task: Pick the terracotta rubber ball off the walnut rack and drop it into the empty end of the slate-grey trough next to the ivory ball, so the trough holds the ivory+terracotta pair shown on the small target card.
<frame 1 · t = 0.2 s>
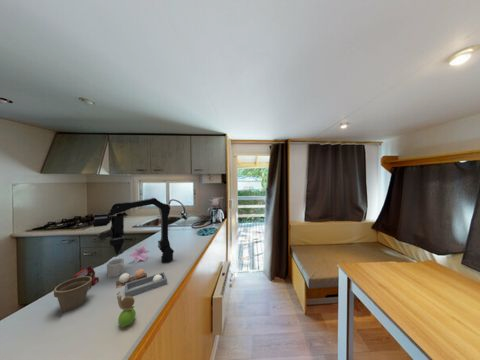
hand: (117, 251, 92), 14 cm above the counter, fingers open, 9 cm apart
trough: (146, 288, 81), on the counter
target card: (155, 274, 94), on the counter
toy fire truck: (85, 289, 81), on the counter
cup: (117, 276, 93), on the counter
flower pot: (73, 307, 69), on the counter
lily: (139, 260, 111), on the counter
ball ivory trough: (157, 283, 84), point 1 cm above the counter, touching trough
ball terracotta: (139, 277, 89), point 1 cm above the counter, touching rack
ball ivory rack: (124, 282, 85), point 1 cm above the counter, touching rack
rack: (132, 281, 87), on the counter
snail figurine: (125, 324, 61), on the counter
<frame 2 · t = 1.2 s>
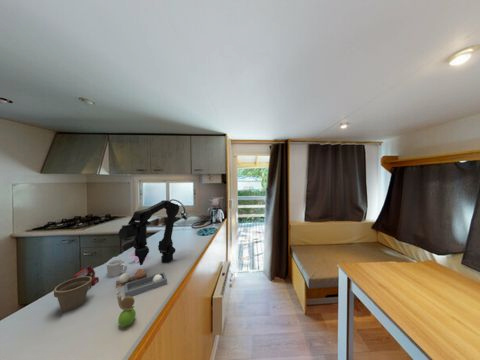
hand: (140, 261, 89), 10 cm above the counter, fingers open, 9 cm apart
nothing on the counter moved.
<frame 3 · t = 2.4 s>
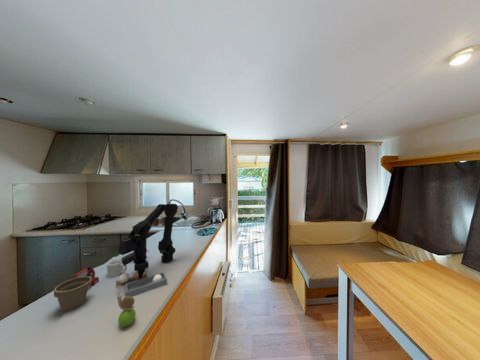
hand: (139, 275, 89), 2 cm above the counter, fingers closed on ball terracotta, 4 cm apart
ball terracotta: (139, 277, 89), point 1 cm above the counter, touching gripper, rack
everything else where it was.
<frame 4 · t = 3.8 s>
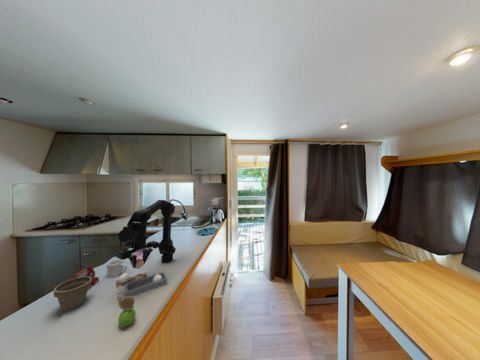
hand: (138, 266, 83), 11 cm above the counter, fingers closed on ball terracotta, 4 cm apart
ball terracotta: (138, 268, 83), point 9 cm above the counter, touching gripper
everything else where it was.
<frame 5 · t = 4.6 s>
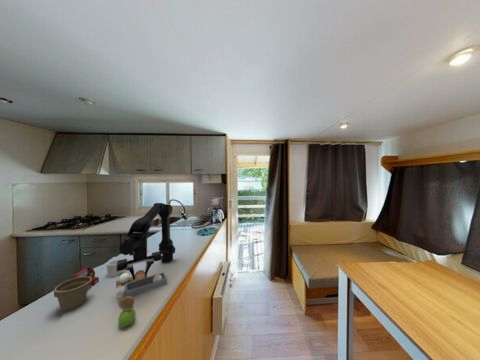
hand: (139, 277, 80), 6 cm above the counter, fingers closed on ball terracotta, 4 cm apart
ball terracotta: (139, 279, 80), point 5 cm above the counter, touching gripper
everything else where it was.
when the fingers open (4 cm above the counter, at t = 5.3 s): ball terracotta drops 2 cm, resting on trough.
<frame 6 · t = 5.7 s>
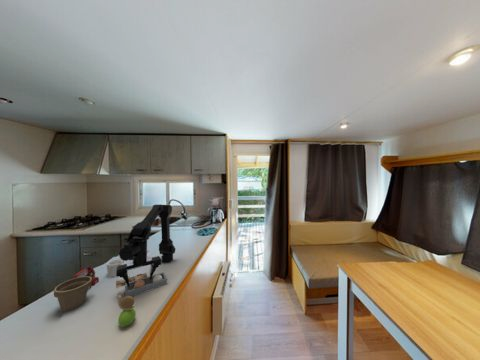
hand: (139, 282, 80), 4 cm above the counter, fingers open, 9 cm apart
ball terracotta: (139, 289, 80), point 1 cm above the counter, touching trough
everything else where it was.
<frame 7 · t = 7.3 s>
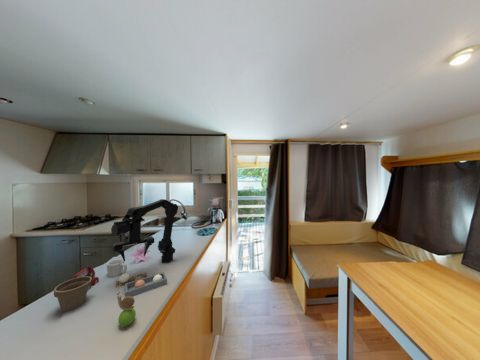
hand: (134, 258, 89), 12 cm above the counter, fingers open, 9 cm apart
nothing on the counter moved.
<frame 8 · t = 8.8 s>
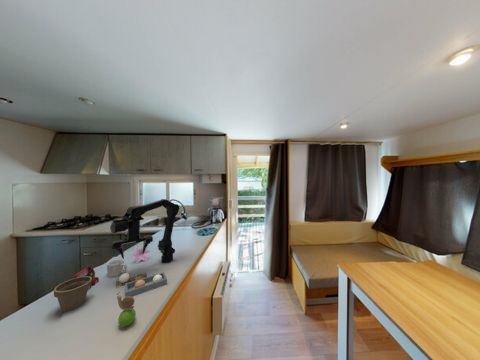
hand: (133, 256, 91), 12 cm above the counter, fingers open, 9 cm apart
nothing on the counter moved.
at the end: ball terracotta inside the target area on the trough (3.0 cm from its centre), point 0.6 cm above the trough's base; ball ivory trough inside the target area on the trough (5.0 cm from its centre), point 0.6 cm above the trough's base; ball ivory rack moved 0.0 cm from its start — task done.
